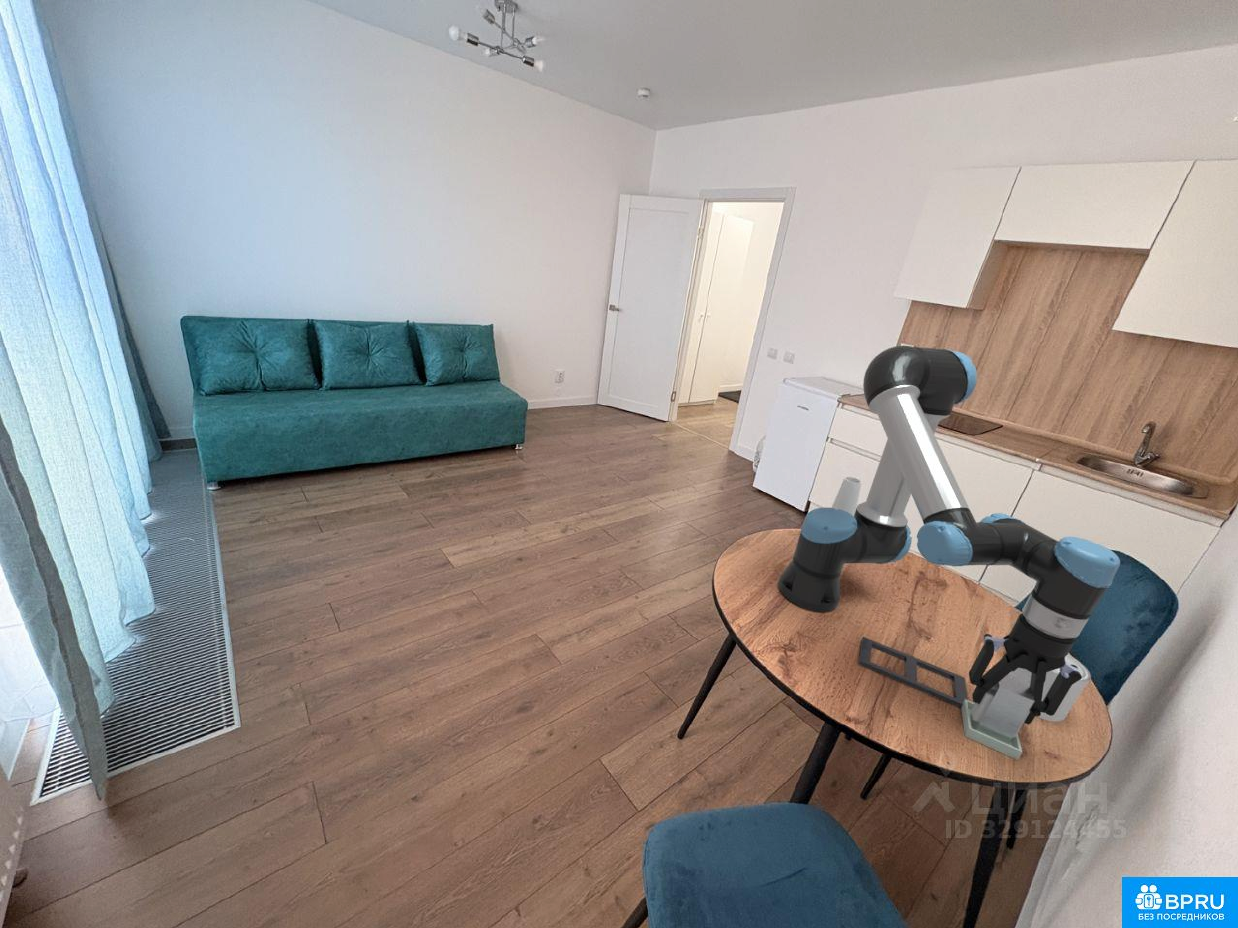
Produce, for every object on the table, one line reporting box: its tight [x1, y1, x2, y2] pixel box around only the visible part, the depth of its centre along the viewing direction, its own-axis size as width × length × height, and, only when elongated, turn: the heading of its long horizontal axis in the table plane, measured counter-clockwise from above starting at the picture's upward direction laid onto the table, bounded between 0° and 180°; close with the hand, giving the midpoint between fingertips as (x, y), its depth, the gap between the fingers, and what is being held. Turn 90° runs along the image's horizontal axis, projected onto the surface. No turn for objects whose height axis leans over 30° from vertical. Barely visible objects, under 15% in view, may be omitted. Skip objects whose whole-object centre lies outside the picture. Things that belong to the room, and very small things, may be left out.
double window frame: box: [858, 636, 969, 709], centre depth 101 cm, size 20×9×1 cm, turn 59°
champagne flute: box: [830, 476, 862, 516], centre depth 142 cm, size 7×7×24 cm
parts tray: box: [960, 699, 1023, 761], centre depth 88 cm, size 8×8×2 cm
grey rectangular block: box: [974, 673, 1035, 745], centre depth 86 cm, size 5×5×11 cm
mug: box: [1009, 653, 1092, 723], centre depth 97 cm, size 14×10×11 cm
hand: (992, 722), depth 88 cm, fingers closed on grey rectangular block, 5 cm apart
